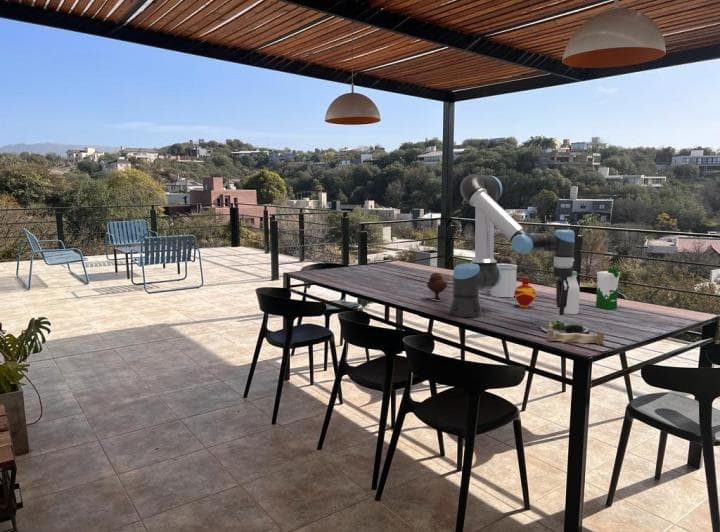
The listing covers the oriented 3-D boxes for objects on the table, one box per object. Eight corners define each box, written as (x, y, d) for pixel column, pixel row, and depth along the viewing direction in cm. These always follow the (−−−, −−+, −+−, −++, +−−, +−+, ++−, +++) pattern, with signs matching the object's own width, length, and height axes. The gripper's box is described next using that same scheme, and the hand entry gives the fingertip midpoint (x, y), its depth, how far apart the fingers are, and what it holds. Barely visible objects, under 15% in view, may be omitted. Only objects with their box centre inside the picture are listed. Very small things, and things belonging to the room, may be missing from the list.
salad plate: (528, 332, 203) (528, 320, 202) (545, 324, 216) (546, 313, 215) (577, 340, 190) (578, 328, 189) (592, 331, 203) (593, 320, 203)
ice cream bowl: (448, 302, 263) (449, 273, 261) (427, 302, 263) (428, 273, 261) (445, 298, 273) (446, 271, 272) (425, 298, 274) (425, 271, 272)
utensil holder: (489, 297, 276) (491, 266, 274) (487, 293, 291) (488, 263, 289) (517, 298, 274) (519, 266, 272) (513, 293, 289) (515, 263, 286)
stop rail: (548, 341, 187) (548, 330, 186) (546, 339, 190) (547, 328, 189) (603, 344, 184) (604, 332, 183) (601, 342, 186) (601, 331, 186)
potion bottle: (512, 307, 249) (514, 278, 247) (514, 304, 258) (515, 275, 257) (535, 309, 245) (536, 279, 243) (536, 305, 255) (537, 276, 253)
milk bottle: (580, 315, 233) (582, 272, 231) (562, 314, 235) (564, 272, 232) (576, 311, 241) (578, 270, 238) (559, 311, 242) (561, 270, 240)
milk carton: (609, 310, 244) (612, 269, 242) (592, 307, 252) (594, 267, 249) (619, 308, 249) (622, 268, 247) (602, 305, 257) (604, 266, 254)
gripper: (576, 269, 202) (573, 326, 205) (568, 265, 215) (566, 319, 218) (557, 268, 203) (554, 325, 206) (550, 264, 216) (548, 318, 219)
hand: (560, 322), depth 212 cm, fingers closed
